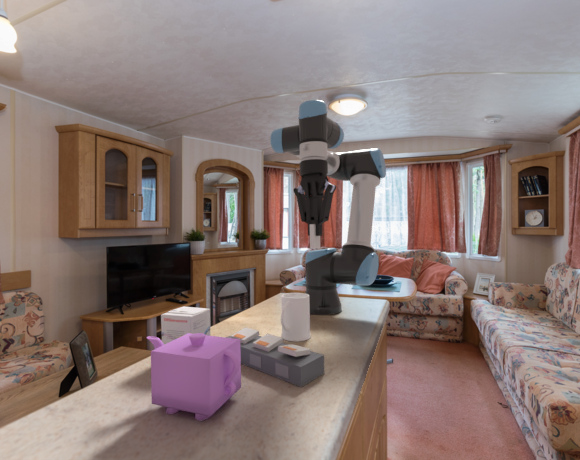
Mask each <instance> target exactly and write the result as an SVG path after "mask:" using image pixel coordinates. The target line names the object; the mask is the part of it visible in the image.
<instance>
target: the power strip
mask: <svg viewBox="0 0 580 460" xmlns="http://www.w3.org/2000/svg"><path fill="white" fill-rule="evenodd" d="M261 337H263V336H261V335H258V336H257V337H255V338H253V339H252V340H250V341H249V342H247V343H245V344H243V343H240V350H241V365H244V366H246V367H248V368H252V369H253V370H257V371H259V372H262V373H264V374H266V375H270V376H271V377H274V378H277V379H279V380H282V381H284V382H287V383H290V384H292V385H294V386H297V387H300V388H302V387H304V386H306V385H307V384H308V383H311V382H312V381H314V380H316V379H317V378H319V377H321V376H323V375H325V354H323V353H318V352H315V351H313V350H311V352H310V354H309V355H303V356H297V357H295V356H292V355H289V354H286V353H282V352H279V351H278V346H284V345H290V344H288V343H286V342H282V343H281V344H279V345H278V346H276V347H275V348H274V349H272V350H271V351H269V352H268V351H265V350H262V349H259V348H256V347H253V342H255V341H256V340H258V339H259V338H261ZM225 338H231V335H229V336H226V337H225Z"/></svg>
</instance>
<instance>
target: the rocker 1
mask: <svg viewBox="0 0 580 460" xmlns="http://www.w3.org/2000/svg"><path fill="white" fill-rule="evenodd" d="M230 336H231V338H233V339H240V343H243V344H245V343H247V342H249V341H250V340H252V339H253V338H255V337H257V336H261V334H260V330H256V329H254V328H250V327H246V326H245V327H243V328H242V329H240V330H238V331H236V332H235V333H233V334H231V335H230Z"/></svg>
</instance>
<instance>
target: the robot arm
mask: <svg viewBox="0 0 580 460" xmlns="http://www.w3.org/2000/svg"><path fill="white" fill-rule="evenodd" d="M327 114H328V110H327V103H326V102H325V101H323V100H319V99H309V100H305V101H302V103H300V105H299V107H298V117H297V118H298V119H297V120H298V125H297V124H295V125H290V126H283V127H280V128H277V129H274V130H272V132H271V133H270V141H269V142H270V146H271V149H272V150H273V151H274V152H275V153H276V154H285V153H289V154H290V155H293V156H294V157H296V158H298V159H299V160H300V162H299V175H300V176H301V178H300V179H301V180H300V181H299V182H300V184H299V185H298V186H297V187H294V188H293V193H294V195H295V197H296V202H297V206H298V207H297V208H298V210H299V215H300V219H301V222H303V223H306V224H307V235H308V236H309V249H311V250H310V251H307V252H306V254H305V261H304V262H305V263H304V265H305V292H304V293H306V294H309V303H310V315H319V316H320V315H323V316H325V315H326V316H327V315H333V314H335V315H336V314H338V313H341V312H342V311H343V310H342V308H343V307H342V303H341V299H340V296H339V292H338V290H337V289H338V286H337V284H338V285H350V286H351V285H352V286H358V287H360V286H371V285H372V284H373V283H374V282H375V281H376V278H377V276H378V271H379V255H378V254H377V253H376V252H375V248H374V247H373V246H372V245H371V243H372V233H373V232H372V231H373V230H372V229H373V221H374V209H375V198H376V188H377V187H378V186H379V185H380V184H381V179H384V178H386V175H387V168H386V166H387V165H386V162H385V157H384V154H383V151H382V149H380V148H368V149H359V150H353V151H352V150H351V151H343V152H335V151H331V150H328V149H332V150H333V149H336V148H338V147H340V146H341V145H342V143H343V141H344V137H345V133H344V132H345V131H344V130H343V128H342V127H341V125H340V124H339V123H338V122H337V121H334V120H332V119H331V118H329V116H328V115H327ZM328 178H330V179H335V180H337V181H342V182H343V181H344V182H347V181H348V182H349V181H350V184H351V185H352V193H351V194H352V195H351V202H350V211H349V220H348V229H347V238H346V243H344V244H342V247H341V251H337V248H335V247H331V248H322V249H320V248H321V237H322V235H323V224H324V223H326V222H328V221H329V219H330V212H331V208H332V203H333V197H334V193H335V191H336V190H337V185H336V184H332V183H331V182H329V179H328ZM312 249H314V250H312Z"/></svg>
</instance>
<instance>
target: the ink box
mask: <svg viewBox="0 0 580 460" xmlns="http://www.w3.org/2000/svg"><path fill="white" fill-rule="evenodd" d="M160 325H161V326H160V327H161V331H160V332H161V341H162V342H163V344H164V345H165V344H167V343H169V342H171V341H173V340H175V339H177V338H179V337H181V336H184V335H186V334H188V333H191V334H195V333H203V334H205V335H208V336H211V308H205V307H196V306H195V307H193V306H180V307H177V308H174V309H171V310H169V311H167V312H165V313H161V315H160Z"/></svg>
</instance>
